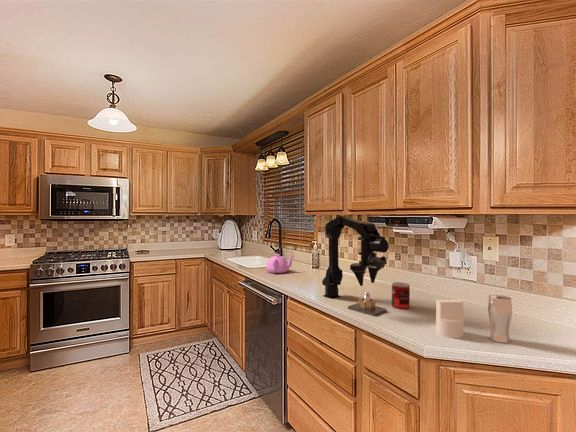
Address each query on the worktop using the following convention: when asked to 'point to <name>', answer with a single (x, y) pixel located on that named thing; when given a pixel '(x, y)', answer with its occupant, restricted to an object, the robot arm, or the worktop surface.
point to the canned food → (400, 295)
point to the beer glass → (500, 317)
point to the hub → (367, 304)
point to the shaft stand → (370, 312)
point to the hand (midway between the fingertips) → (367, 284)
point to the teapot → (278, 264)
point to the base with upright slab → (449, 318)
